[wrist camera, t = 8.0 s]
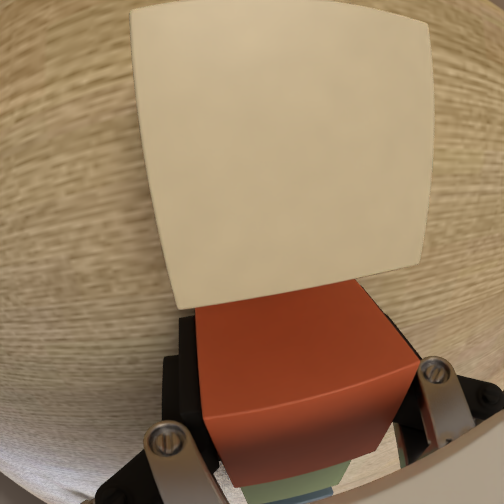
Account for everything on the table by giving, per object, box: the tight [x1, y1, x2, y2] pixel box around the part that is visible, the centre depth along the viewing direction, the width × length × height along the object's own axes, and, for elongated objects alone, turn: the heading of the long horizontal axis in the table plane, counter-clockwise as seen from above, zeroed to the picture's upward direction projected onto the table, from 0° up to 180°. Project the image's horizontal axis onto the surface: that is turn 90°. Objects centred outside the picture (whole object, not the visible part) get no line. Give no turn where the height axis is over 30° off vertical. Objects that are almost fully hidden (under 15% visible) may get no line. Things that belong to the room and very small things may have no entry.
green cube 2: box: [240, 460, 351, 504], centre depth 13 cm, size 5×5×5 cm
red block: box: [195, 279, 420, 488], centre depth 9 cm, size 5×5×5 cm
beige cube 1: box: [129, 0, 434, 310], centre depth 7 cm, size 5×5×5 cm
